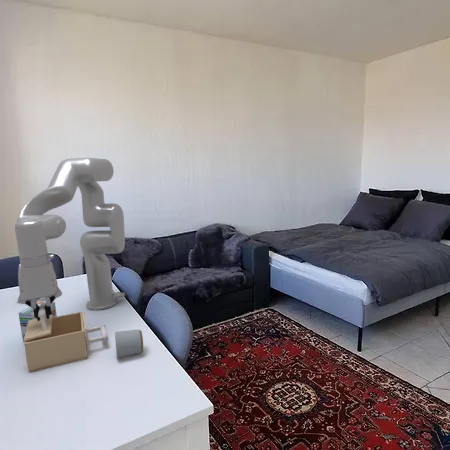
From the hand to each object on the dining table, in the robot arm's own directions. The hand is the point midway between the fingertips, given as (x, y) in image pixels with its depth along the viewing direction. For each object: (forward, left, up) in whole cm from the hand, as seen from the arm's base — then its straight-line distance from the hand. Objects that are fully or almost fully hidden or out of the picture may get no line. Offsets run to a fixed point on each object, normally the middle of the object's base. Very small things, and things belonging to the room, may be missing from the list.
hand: (43, 317), depth 111 cm
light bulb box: (+3, -16, -13) cm, 21 cm away
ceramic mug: (-23, +10, -13) cm, 28 cm away
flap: (+2, 0, -3) cm, 3 cm away
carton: (-6, 0, -13) cm, 14 cm away
